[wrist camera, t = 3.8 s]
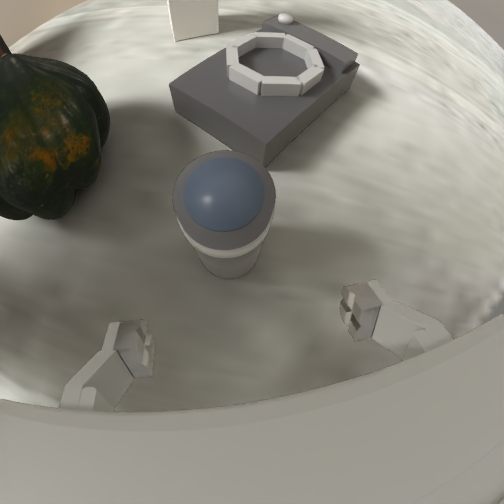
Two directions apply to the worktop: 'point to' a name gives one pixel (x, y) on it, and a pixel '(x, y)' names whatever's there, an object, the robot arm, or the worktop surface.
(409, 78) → the worktop surface
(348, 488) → the robot arm
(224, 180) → the lens
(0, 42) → the cleaning product box
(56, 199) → the squash
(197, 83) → the stand base
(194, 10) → the milk
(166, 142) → the worktop surface
